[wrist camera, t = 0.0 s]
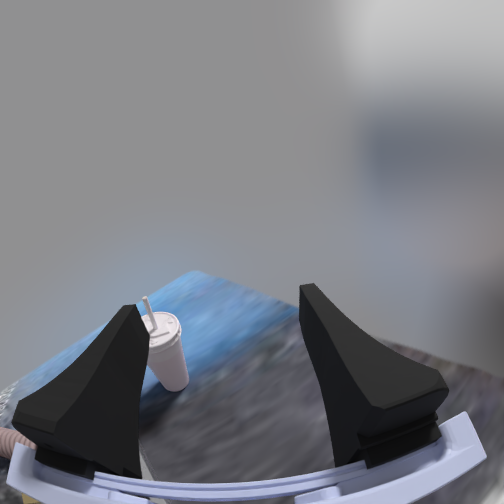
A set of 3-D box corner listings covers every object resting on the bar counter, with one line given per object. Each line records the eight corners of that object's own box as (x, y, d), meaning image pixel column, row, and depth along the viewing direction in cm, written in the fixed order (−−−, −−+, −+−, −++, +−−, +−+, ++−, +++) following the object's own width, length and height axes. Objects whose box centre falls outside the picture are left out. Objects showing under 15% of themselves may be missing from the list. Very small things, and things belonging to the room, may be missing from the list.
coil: (41, 428, 20) (-31, 412, 18) (32, 457, 16) (-41, 431, 14) (61, 449, 22) (-14, 432, 20) (54, 476, 18) (-22, 451, 15)
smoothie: (185, 405, 30) (146, 321, 24) (145, 390, 32) (102, 309, 26) (206, 369, 35) (180, 284, 29) (167, 359, 38) (136, 278, 31)
